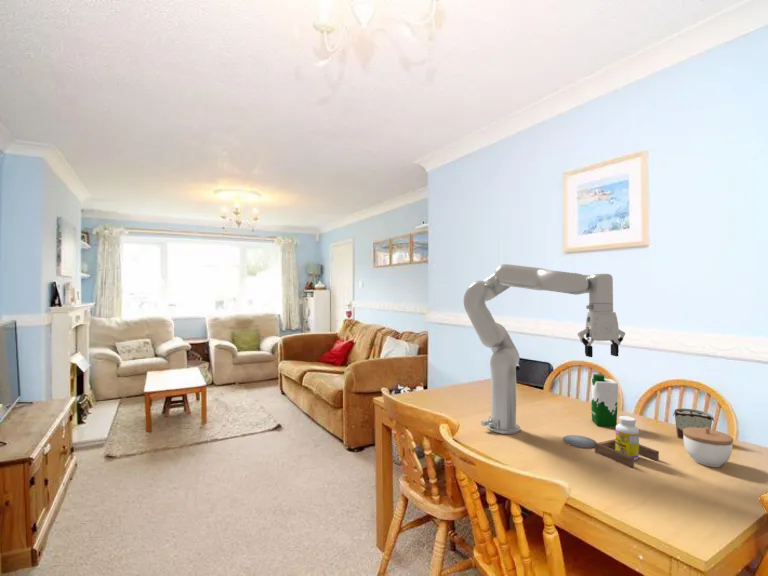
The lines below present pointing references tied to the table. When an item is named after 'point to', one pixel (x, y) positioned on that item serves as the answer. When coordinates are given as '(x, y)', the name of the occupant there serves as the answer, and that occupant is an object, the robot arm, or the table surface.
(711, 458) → the lidded bowl
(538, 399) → the table surface
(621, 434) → the supplement bottle
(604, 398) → the milk carton
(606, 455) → the holder
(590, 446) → the mat
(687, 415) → the food container
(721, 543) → the table surface
